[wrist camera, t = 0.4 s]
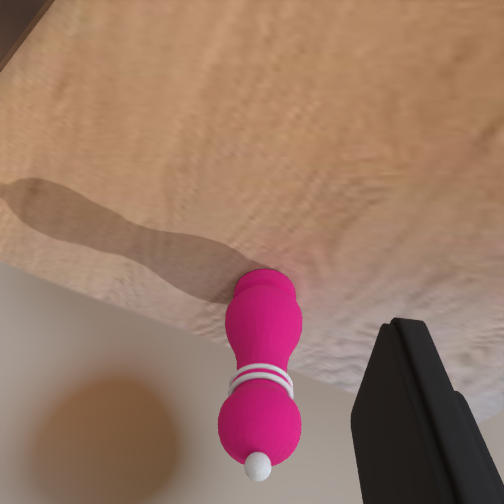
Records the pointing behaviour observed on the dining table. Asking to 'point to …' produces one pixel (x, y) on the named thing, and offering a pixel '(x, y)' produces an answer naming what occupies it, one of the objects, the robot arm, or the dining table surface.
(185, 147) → the dining table surface
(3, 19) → the board
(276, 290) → the pepper mill
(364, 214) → the dining table surface
